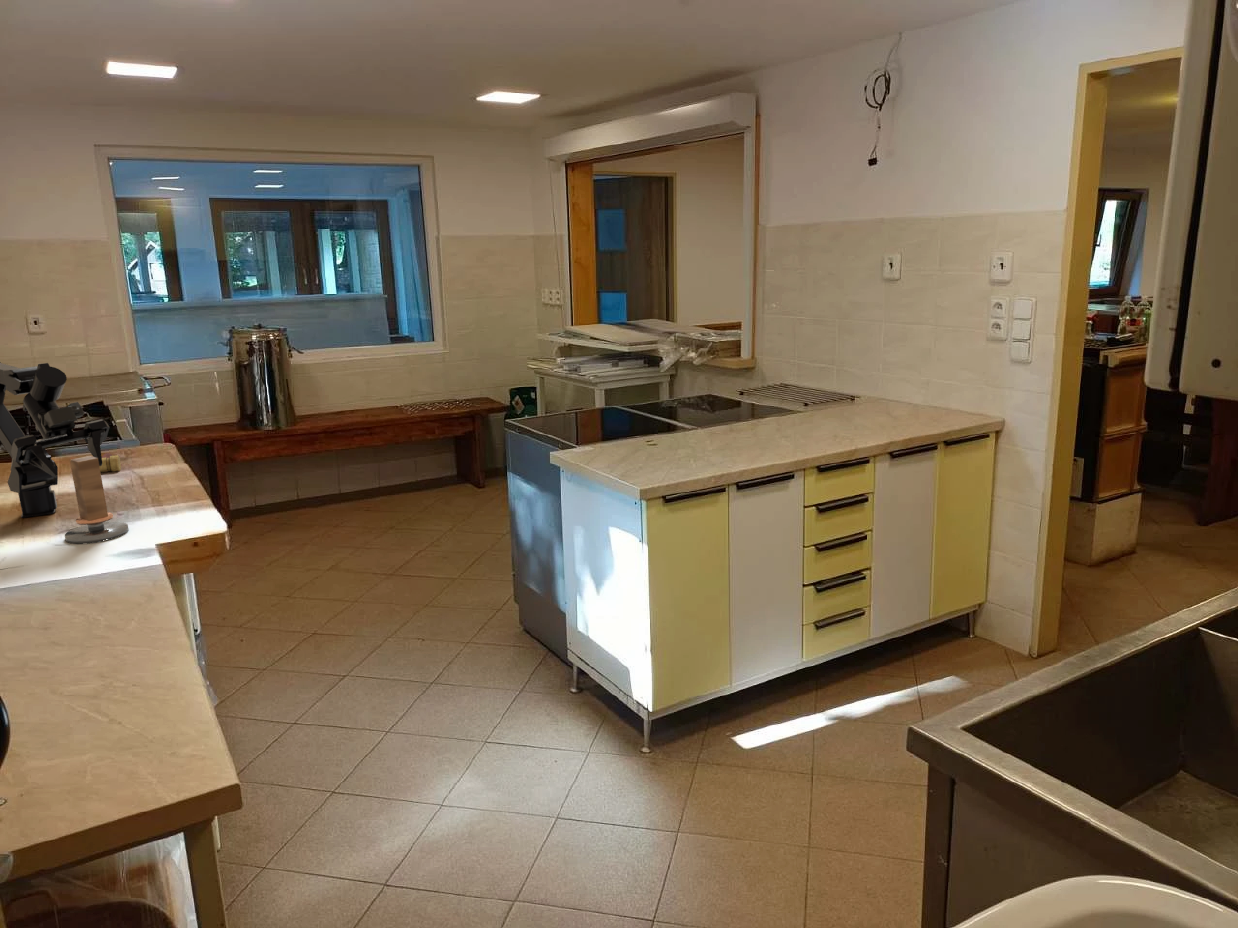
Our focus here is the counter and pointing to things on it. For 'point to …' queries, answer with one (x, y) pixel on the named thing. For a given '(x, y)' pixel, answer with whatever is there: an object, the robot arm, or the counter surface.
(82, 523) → the copper topped disc
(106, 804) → the counter surface
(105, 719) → the counter surface
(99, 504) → the walnut stick
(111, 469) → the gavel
